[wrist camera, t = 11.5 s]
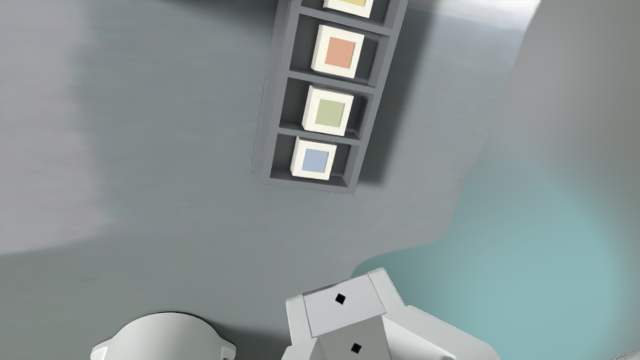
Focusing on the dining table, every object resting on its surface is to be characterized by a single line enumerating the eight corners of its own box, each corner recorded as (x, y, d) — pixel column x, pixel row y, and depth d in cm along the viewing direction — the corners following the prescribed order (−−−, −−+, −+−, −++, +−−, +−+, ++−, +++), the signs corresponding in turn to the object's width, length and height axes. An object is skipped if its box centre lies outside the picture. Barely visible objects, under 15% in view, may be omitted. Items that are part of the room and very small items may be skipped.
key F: (348, 75, 36) (354, 78, 34) (310, 67, 35) (314, 70, 33) (358, 34, 35) (365, 35, 33) (319, 24, 34) (324, 25, 32)
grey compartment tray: (348, 177, 44) (360, 195, 40) (251, 165, 41) (253, 183, 37) (404, -29, 36) (427, -35, 31) (287, -65, 33) (295, -78, 28)
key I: (338, 130, 37) (344, 136, 35) (301, 124, 36) (305, 130, 34) (348, 92, 36) (354, 96, 34) (309, 84, 35) (313, 88, 33)
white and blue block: (324, 172, 40) (328, 180, 39) (290, 168, 39) (292, 176, 37) (332, 139, 39) (337, 146, 37) (297, 134, 38) (300, 140, 36)
